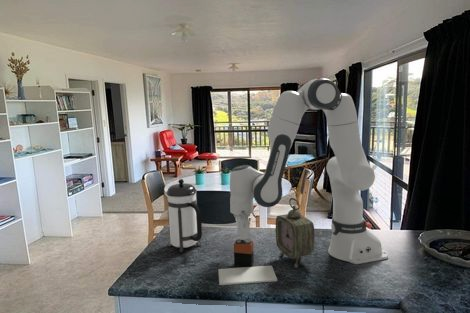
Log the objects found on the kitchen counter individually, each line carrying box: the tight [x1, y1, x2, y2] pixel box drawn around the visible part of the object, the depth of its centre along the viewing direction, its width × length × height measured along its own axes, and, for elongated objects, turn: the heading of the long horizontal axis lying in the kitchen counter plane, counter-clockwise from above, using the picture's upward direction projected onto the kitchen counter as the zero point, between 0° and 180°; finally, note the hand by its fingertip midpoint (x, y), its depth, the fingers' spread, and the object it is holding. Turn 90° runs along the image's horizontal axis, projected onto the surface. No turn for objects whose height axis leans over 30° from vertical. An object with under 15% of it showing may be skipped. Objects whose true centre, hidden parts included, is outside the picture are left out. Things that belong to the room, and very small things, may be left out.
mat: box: [218, 265, 278, 286], centre depth 116 cm, size 20×10×1 cm, turn 95°
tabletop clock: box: [275, 197, 315, 269], centre depth 125 cm, size 14×9×25 cm, turn 22°
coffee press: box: [165, 178, 203, 254], centre depth 140 cm, size 17×16×30 cm
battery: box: [233, 238, 255, 268], centre depth 124 cm, size 4×7×10 cm, turn 75°
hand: (242, 241), depth 128 cm, fingers closed
